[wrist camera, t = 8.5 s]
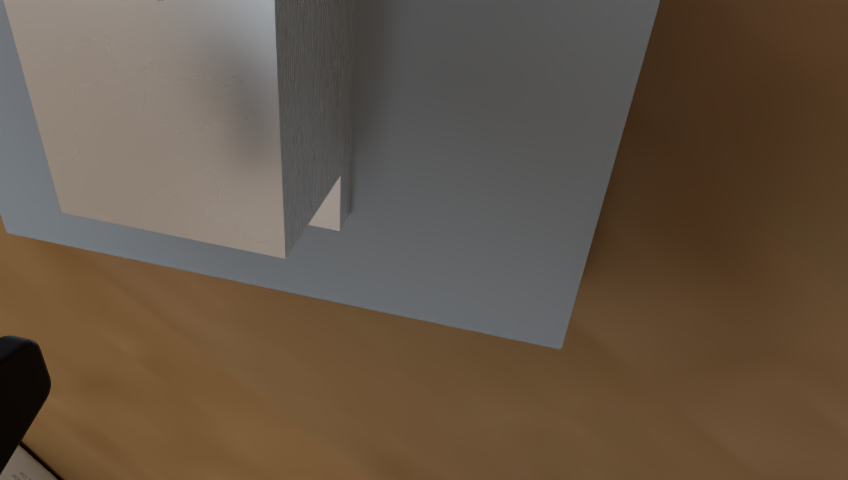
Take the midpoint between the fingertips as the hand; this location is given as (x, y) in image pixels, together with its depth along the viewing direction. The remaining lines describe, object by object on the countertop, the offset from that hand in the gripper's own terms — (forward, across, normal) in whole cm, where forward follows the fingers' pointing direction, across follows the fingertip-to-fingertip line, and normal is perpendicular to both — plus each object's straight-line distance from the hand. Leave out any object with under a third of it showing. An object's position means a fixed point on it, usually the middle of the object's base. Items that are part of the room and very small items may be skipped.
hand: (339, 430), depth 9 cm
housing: (+7, +4, -4) cm, 9 cm away
